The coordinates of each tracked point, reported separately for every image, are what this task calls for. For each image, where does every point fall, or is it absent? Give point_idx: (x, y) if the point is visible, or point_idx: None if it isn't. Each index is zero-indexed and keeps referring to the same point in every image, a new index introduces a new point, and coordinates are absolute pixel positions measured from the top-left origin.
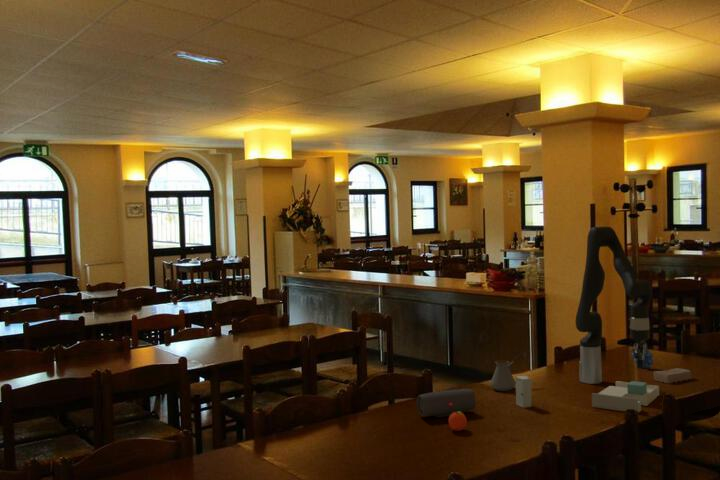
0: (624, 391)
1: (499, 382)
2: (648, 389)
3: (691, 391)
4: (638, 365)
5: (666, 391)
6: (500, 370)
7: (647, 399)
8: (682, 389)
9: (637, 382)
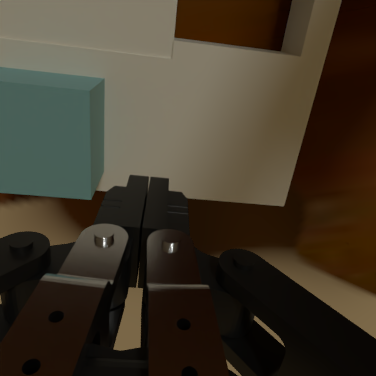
0: (56, 30)
1: None
2: (176, 169)
3: (370, 284)
4: (104, 203)
5: (351, 200)
6: None
7: None
8: None
9: (66, 141)
